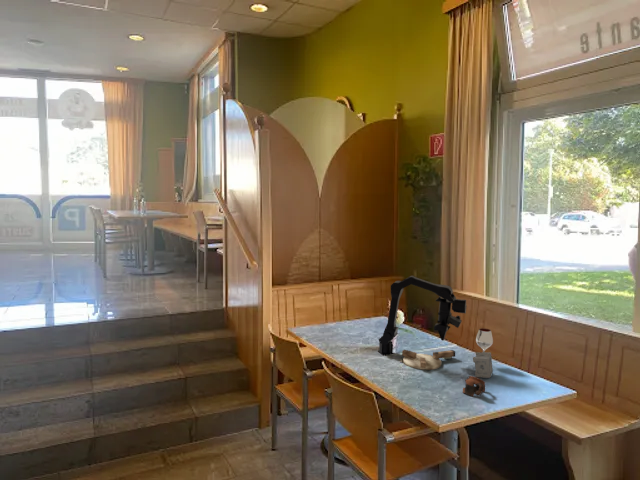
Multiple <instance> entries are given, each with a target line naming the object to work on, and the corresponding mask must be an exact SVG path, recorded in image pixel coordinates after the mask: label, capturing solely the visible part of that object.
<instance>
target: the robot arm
mask: <svg viewBox="0 0 640 480" xmlns="http://www.w3.org/2000/svg"><path fill="white" fill-rule="evenodd" d="M409 286H415V287H418V288H420V289H424V290H427V291H430V292H432V293H434V294H435V295H437V296H438V298H436V299H435V302H439V306H438V313H437V315H438V320H437V322H436V323H435V325H434V326H433V330H434V331H437V332H438V334H439V335H438V336H439V337H440V339H441V342H442V341H444V340H445V337H446V334H447V332H448V331H449V329H450V328H451V326H450V325H452V326H453V327H455V328H457V329H459V327H460V326H461V323H462V319H461V316H460V315H456V316H453V315H452V314H453V313H452V312H451V311H453V312H454V313H457V314H458V313H459V314H467V313H466V312H467V299H459V298H457V297H456V296H455V294H454V291H453V288H452V287H451V286H450V285H446V284H437V283H433V282H431V281H427V280H426V279H425V280H424V279H421V278H420V277H419V278H418V277H416V276H415V275H410V276H408V277H407V278H404V279H402V280H395V282H393V283H391V284H390V297H391V300H390V305H389V311H388V319H387V323H386V326H385V328H384V331H383V333H382V335H381V336H380V337H379V338H378V342H379V343H378V345H379V347H378V350H377V352H378V353H380V354H381V355H382V356H386V355H388V356H389V355H394V344H393V339H394V338H396V336H397V335H398V334H399V333H398V330H399V328H400V327H399V326H397V319H398V318H397V316H398V310H399V304H400V299H401V296H402V295H403V292H404V289H405V288H407V287H409Z"/></svg>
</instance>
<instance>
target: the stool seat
mask: <svg viewBox="0 0 640 480" xmlns="http://www.w3.org/2000/svg"><path fill="white" fill-rule="evenodd" d="M401 352H402V353H401V356H403V359H402V360H403V364H404V365H405V366H407V367H409V368H412V369H416V370H423V371H430V370H437V369H439V368H441V367H442V360H441V358H438V359H435V358H433V355H431V354H426V353H417V352H415V351H411V350H408V349H403V350H402V351H401Z"/></svg>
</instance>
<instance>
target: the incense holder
mask: <svg viewBox="0 0 640 480" xmlns="http://www.w3.org/2000/svg"><path fill="white" fill-rule="evenodd" d="M472 362H473V363H474V365H475V373H474V377H476V378H484V379H485V378H486V379H490V378H491V376H492V374H493V371H494V369H493V368H494V367H493V361H492V353H491V352H490V351H489V352H488V351H487V352H483V351H482V352H478V351H477V352H475V356H472Z"/></svg>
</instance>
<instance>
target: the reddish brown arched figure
mask: <svg viewBox="0 0 640 480" xmlns="http://www.w3.org/2000/svg"><path fill="white" fill-rule="evenodd" d="M467 377H468V378H466V379H465V380H464V382H465V387H462V393H463V394H466V395H468V396H470V397H473V398H474V395H476V396H481V394H482V393H485V392H486V382H485V381H484V380H483V379H481V378H480V377H476V376H472V375H468V376H467Z"/></svg>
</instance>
